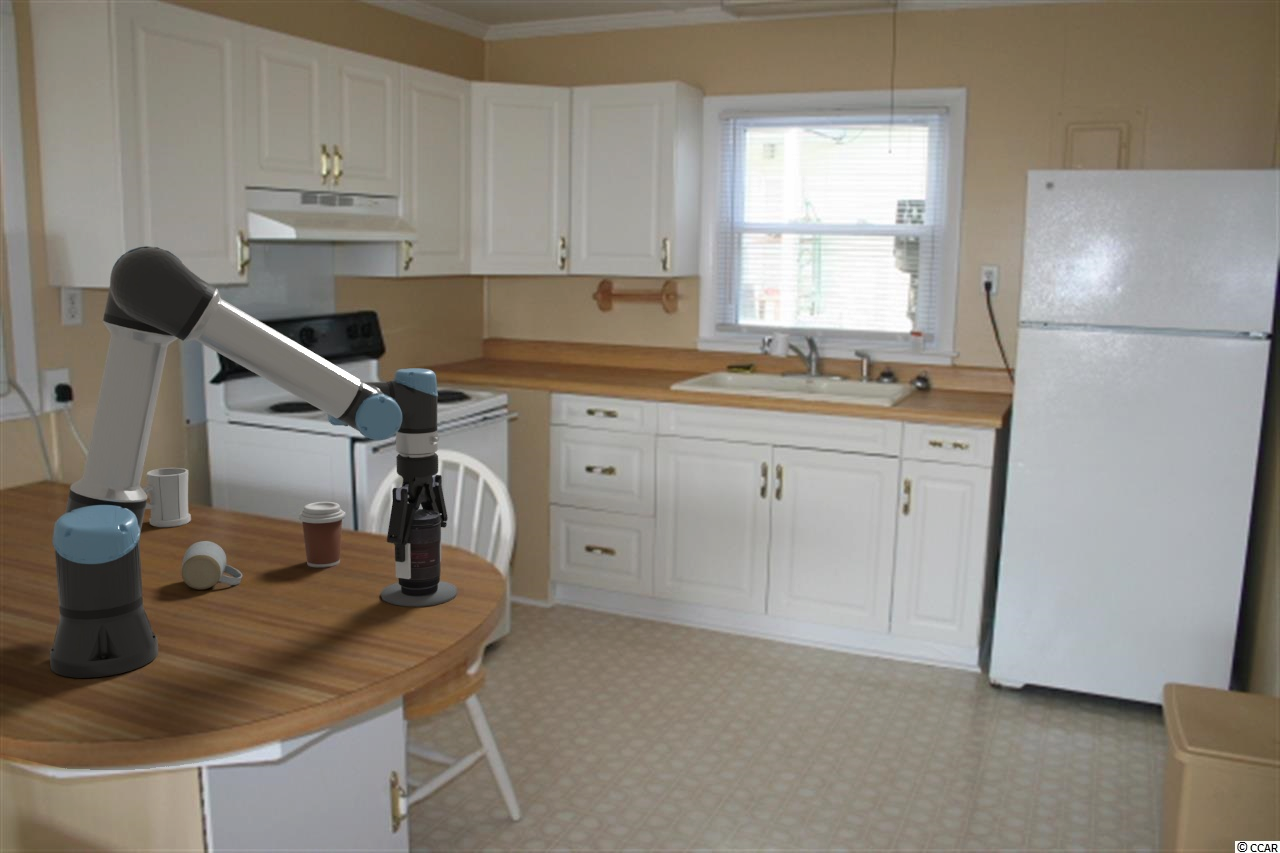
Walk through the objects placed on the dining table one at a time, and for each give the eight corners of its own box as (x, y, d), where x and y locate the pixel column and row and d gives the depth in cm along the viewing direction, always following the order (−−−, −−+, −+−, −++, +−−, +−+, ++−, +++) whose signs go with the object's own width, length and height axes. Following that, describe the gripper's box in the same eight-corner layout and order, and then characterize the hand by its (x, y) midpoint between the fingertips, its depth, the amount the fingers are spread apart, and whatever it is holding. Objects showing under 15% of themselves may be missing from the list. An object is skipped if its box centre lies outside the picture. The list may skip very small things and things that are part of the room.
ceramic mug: (180, 593, 202) (179, 553, 201) (184, 579, 210) (183, 541, 208) (241, 589, 205) (240, 550, 204) (243, 576, 213) (242, 538, 211)
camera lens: (414, 601, 198) (413, 521, 195) (389, 590, 203) (387, 513, 201) (450, 591, 204) (449, 514, 201) (424, 581, 209) (423, 506, 207)
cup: (178, 530, 244) (175, 478, 242) (137, 529, 244) (134, 477, 242) (197, 518, 254) (195, 468, 252) (158, 517, 254) (156, 467, 252)
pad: (433, 610, 195) (433, 607, 195) (366, 601, 199) (366, 597, 199) (470, 587, 208) (470, 584, 208) (406, 579, 213) (406, 575, 212)
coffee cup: (312, 572, 216) (310, 513, 214) (292, 561, 222) (290, 504, 220) (354, 564, 222) (353, 506, 219) (334, 553, 228) (332, 498, 226)
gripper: (402, 467, 187) (404, 589, 191) (465, 444, 209) (466, 554, 213) (364, 463, 190) (367, 584, 193) (430, 441, 211) (432, 550, 215)
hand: (419, 569), depth 203 cm, fingers open, 10 cm apart
